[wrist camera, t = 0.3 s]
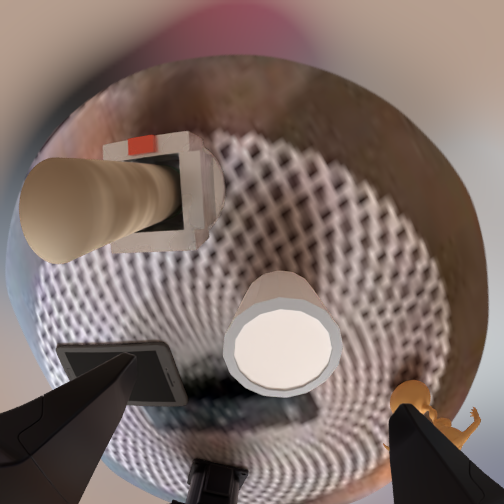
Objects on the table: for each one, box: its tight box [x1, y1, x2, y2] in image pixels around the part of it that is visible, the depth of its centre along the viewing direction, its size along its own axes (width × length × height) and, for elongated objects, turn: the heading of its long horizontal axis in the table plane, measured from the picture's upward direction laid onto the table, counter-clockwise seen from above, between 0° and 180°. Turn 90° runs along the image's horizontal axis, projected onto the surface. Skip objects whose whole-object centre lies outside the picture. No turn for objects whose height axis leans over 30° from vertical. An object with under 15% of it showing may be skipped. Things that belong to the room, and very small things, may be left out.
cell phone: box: [56, 342, 188, 406], centre depth 26 cm, size 7×14×1 cm, turn 100°
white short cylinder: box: [223, 270, 343, 398], centre depth 20 cm, size 7×7×7 cm
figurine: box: [383, 380, 481, 450], centre depth 18 cm, size 8×6×12 cm
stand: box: [103, 131, 226, 253], centre depth 19 cm, size 8×8×5 cm
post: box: [19, 158, 183, 264], centre depth 14 cm, size 4×4×12 cm
